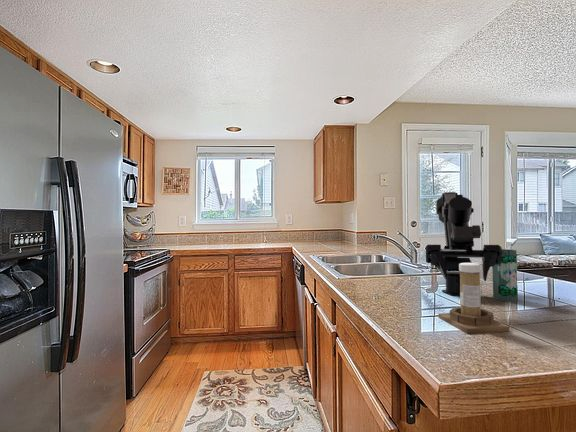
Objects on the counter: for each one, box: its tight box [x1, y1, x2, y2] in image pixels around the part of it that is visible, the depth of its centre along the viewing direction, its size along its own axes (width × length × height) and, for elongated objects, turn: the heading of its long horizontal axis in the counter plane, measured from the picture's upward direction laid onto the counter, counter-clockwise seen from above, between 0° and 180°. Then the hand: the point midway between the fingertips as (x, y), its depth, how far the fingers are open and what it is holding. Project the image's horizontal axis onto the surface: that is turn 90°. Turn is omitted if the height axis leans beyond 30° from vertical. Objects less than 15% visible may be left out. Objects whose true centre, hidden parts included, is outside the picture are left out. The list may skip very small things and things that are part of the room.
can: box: [491, 248, 519, 303], centre depth 103 cm, size 6×6×15 cm
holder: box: [437, 306, 510, 334], centre depth 81 cm, size 12×10×3 cm
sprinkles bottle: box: [458, 262, 482, 317], centre depth 82 cm, size 5×5×13 cm
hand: (465, 279), depth 89 cm, fingers open, 9 cm apart
